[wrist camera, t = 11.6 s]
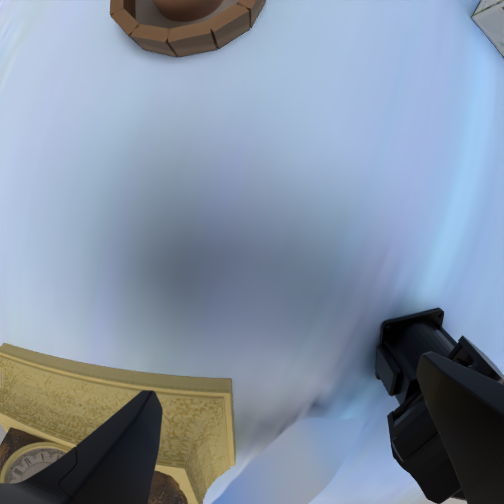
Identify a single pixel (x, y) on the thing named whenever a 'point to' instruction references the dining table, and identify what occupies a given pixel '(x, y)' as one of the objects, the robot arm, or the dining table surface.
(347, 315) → the dining table surface
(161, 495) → the decorative clock
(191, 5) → the terracotta canister
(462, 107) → the dining table surface
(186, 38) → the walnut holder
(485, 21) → the syrup box
